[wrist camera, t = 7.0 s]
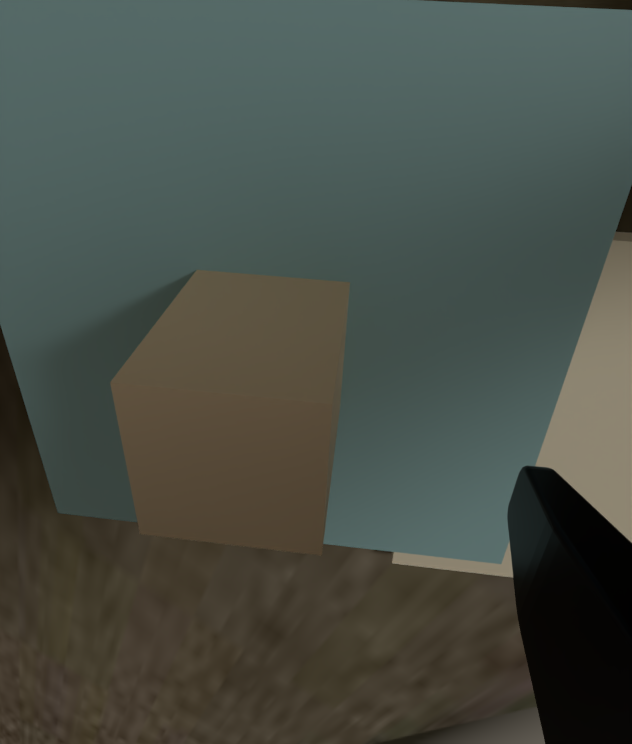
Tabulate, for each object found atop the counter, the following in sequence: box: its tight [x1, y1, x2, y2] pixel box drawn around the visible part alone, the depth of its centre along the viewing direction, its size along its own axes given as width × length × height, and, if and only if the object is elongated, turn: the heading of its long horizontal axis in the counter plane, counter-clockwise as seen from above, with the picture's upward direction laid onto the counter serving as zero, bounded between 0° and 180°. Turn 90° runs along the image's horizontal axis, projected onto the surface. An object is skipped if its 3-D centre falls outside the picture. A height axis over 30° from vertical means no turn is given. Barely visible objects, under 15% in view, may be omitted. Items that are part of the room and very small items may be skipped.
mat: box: [392, 232, 632, 577], centre depth 19 cm, size 14×14×1 cm
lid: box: [0, 0, 632, 564], centre depth 10 cm, size 12×12×5 cm
